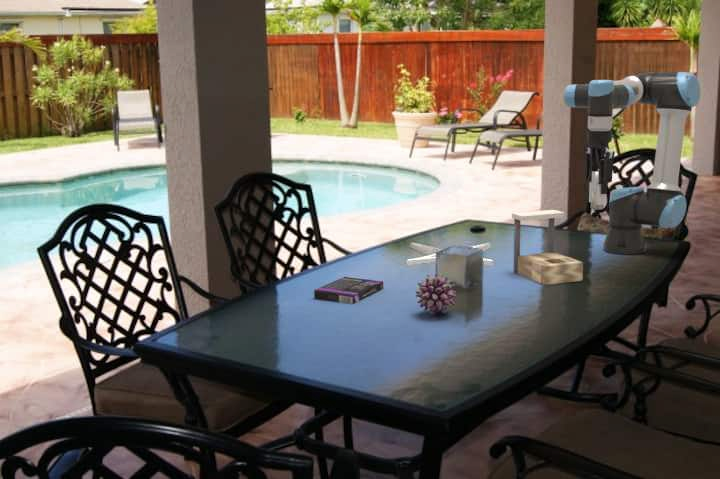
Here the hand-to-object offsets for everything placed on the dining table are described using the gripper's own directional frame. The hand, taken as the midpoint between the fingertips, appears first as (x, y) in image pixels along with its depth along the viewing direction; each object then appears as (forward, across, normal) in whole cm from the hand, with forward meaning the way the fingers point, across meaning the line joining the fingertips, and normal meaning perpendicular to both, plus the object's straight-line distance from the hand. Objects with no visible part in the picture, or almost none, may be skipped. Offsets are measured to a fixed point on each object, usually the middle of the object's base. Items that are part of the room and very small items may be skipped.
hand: (597, 202), depth 298 cm
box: (+25, -13, -80) cm, 85 cm away
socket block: (+24, -6, -13) cm, 28 cm away
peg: (+2, 0, 0) cm, 2 cm away
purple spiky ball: (+25, +18, -65) cm, 72 cm away
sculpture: (+25, -48, -29) cm, 61 cm away
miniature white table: (+25, -14, -13) cm, 31 cm away
